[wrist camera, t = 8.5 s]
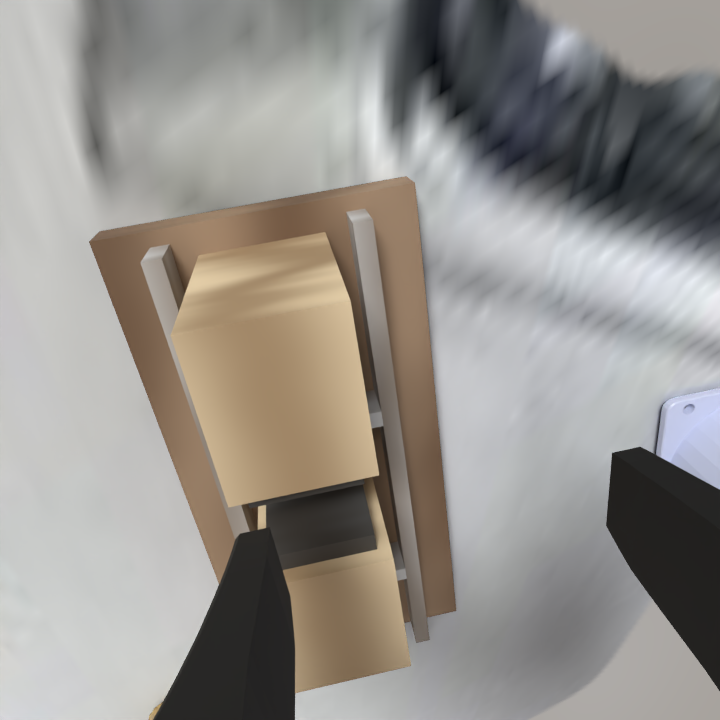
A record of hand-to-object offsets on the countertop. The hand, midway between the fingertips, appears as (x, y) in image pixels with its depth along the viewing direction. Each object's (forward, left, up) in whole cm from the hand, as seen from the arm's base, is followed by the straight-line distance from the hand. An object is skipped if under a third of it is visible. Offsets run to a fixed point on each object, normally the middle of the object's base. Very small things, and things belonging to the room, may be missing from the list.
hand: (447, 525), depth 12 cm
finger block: (+3, +7, -9) cm, 12 cm away
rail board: (+3, +5, -10) cm, 12 cm away
